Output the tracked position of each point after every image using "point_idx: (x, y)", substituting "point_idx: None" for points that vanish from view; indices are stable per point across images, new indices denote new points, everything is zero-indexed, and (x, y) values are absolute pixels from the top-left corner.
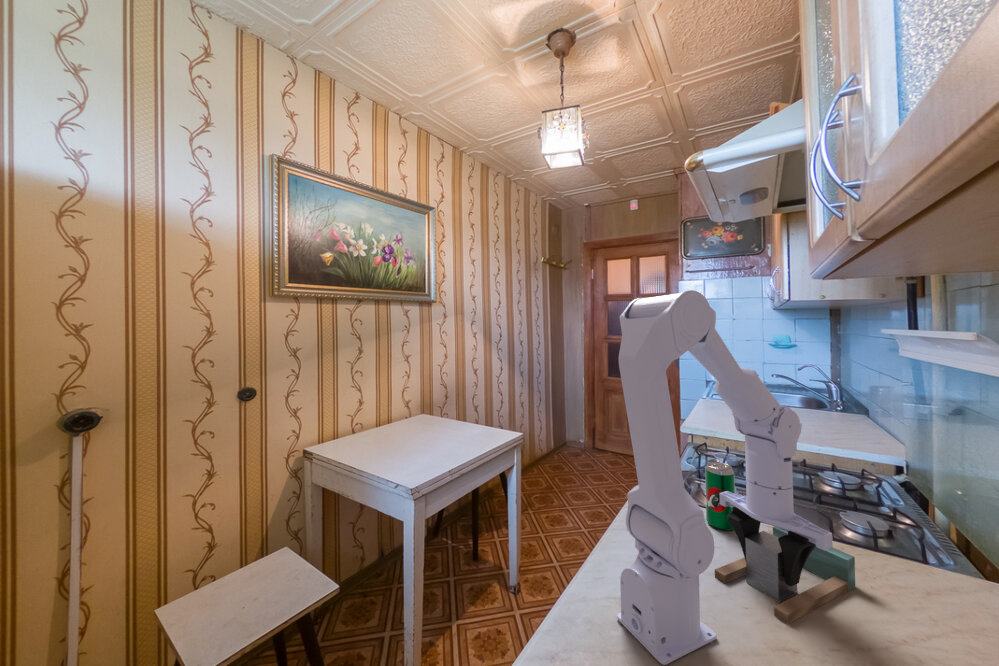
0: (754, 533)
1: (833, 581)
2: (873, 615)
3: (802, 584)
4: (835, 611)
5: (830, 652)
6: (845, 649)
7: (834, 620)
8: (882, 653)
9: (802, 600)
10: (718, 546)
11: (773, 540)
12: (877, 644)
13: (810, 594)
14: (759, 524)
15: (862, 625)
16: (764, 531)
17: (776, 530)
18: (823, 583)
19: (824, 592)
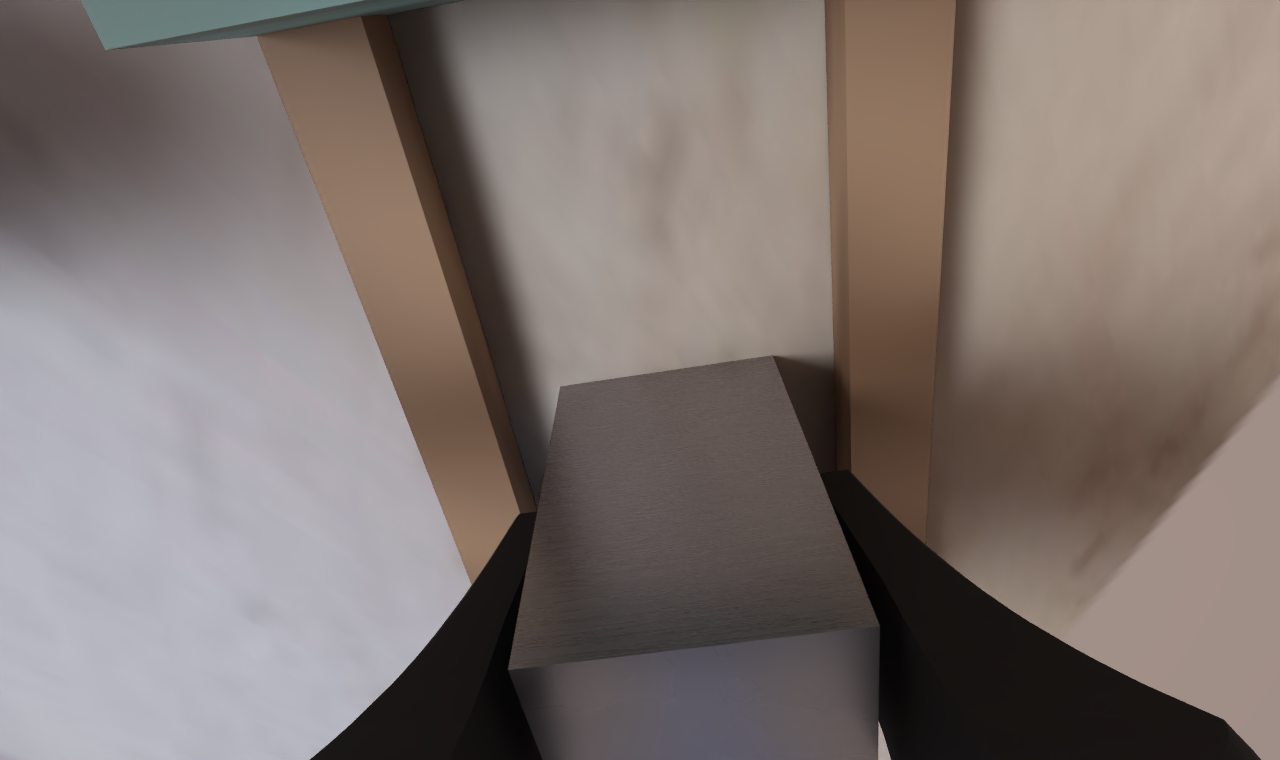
0: (508, 730)
1: (886, 48)
2: (1150, 69)
3: (723, 232)
4: (982, 294)
5: (1084, 580)
6: (1120, 513)
7: (1012, 377)
8: (1249, 382)
9: (894, 488)
10: (186, 418)
11: (707, 726)
12: (1220, 341)
13: (886, 395)
14: (464, 756)
15: (1127, 262)
16: (523, 673)
17: (174, 36)
18: (862, 177)
19: (923, 285)
